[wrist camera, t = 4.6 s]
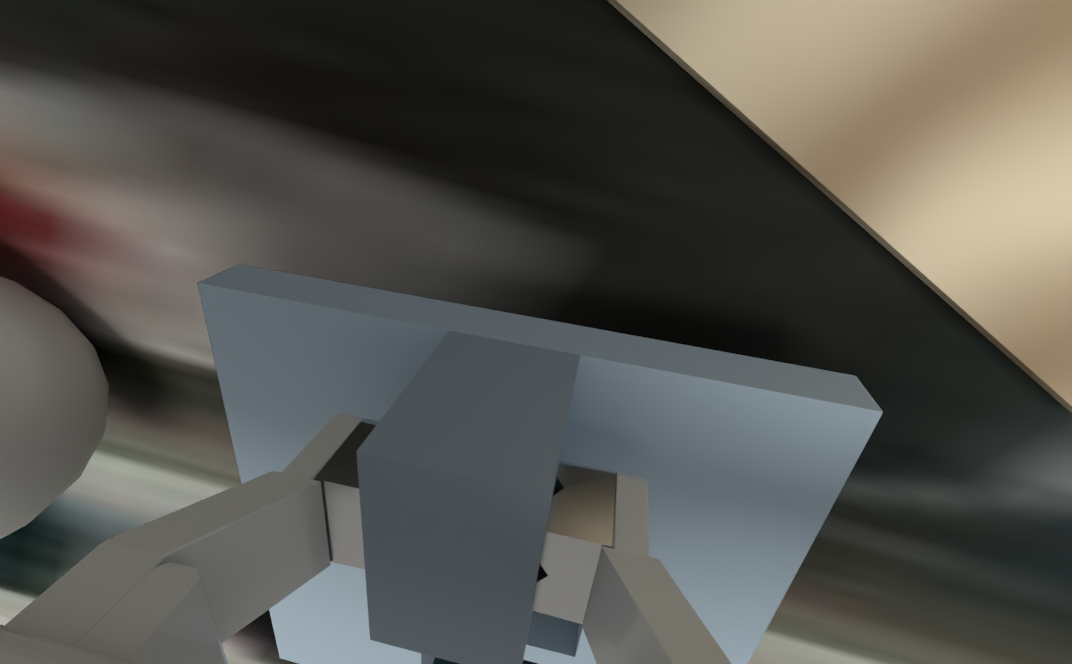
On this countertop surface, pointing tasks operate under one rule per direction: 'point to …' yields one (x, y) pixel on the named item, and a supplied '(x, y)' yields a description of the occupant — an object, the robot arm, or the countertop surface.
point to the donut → (44, 404)
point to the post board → (916, 137)
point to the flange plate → (629, 422)
